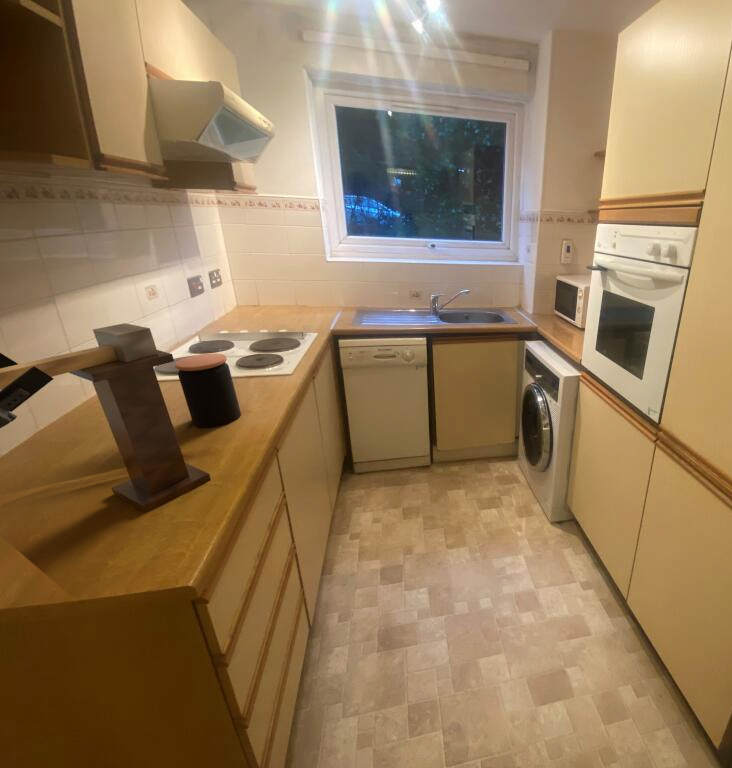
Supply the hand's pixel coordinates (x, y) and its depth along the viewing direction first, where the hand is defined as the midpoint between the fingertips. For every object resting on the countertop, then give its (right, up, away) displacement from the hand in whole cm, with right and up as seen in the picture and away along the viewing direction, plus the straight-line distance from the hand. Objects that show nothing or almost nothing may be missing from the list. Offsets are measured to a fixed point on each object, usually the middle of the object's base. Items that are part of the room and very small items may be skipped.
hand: (25, 364), depth 68 cm
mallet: (+3, 0, +5) cm, 6 cm away
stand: (+5, -24, +21) cm, 32 cm away
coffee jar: (-1, -14, +46) cm, 48 cm away
